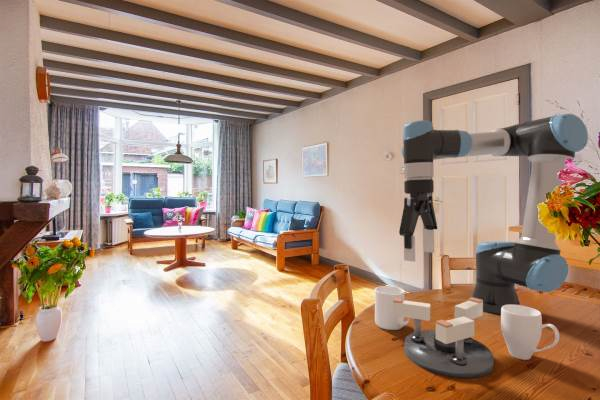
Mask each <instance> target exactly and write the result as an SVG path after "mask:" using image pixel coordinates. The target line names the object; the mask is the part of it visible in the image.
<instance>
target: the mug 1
mask: <svg viewBox="0 0 600 400" xmlns="http://www.w3.org/2000/svg"><path fill="white" fill-rule="evenodd" d="M395 297H397V298H402V300H405V290H404V289H403V288H401V287H397V286H392V285H380V286H377V287H375V289H374V323H375V325H376V326H377V327H379V328H380V329H384V330H386V331H387V330H388V331H397V330H401V329H403V327H406V326H407V325H408V324H409V323H410V320H411V318H407V320H406V321H405V317H400V316H394V315H393V300H394V298H395Z"/></svg>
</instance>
